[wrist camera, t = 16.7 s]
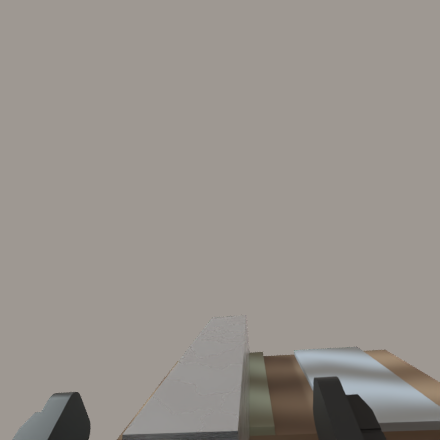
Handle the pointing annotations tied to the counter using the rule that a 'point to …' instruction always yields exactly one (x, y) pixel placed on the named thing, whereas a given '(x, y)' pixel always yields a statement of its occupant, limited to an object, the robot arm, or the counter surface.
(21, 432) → the robot arm
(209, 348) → the bar
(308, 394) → the stand
